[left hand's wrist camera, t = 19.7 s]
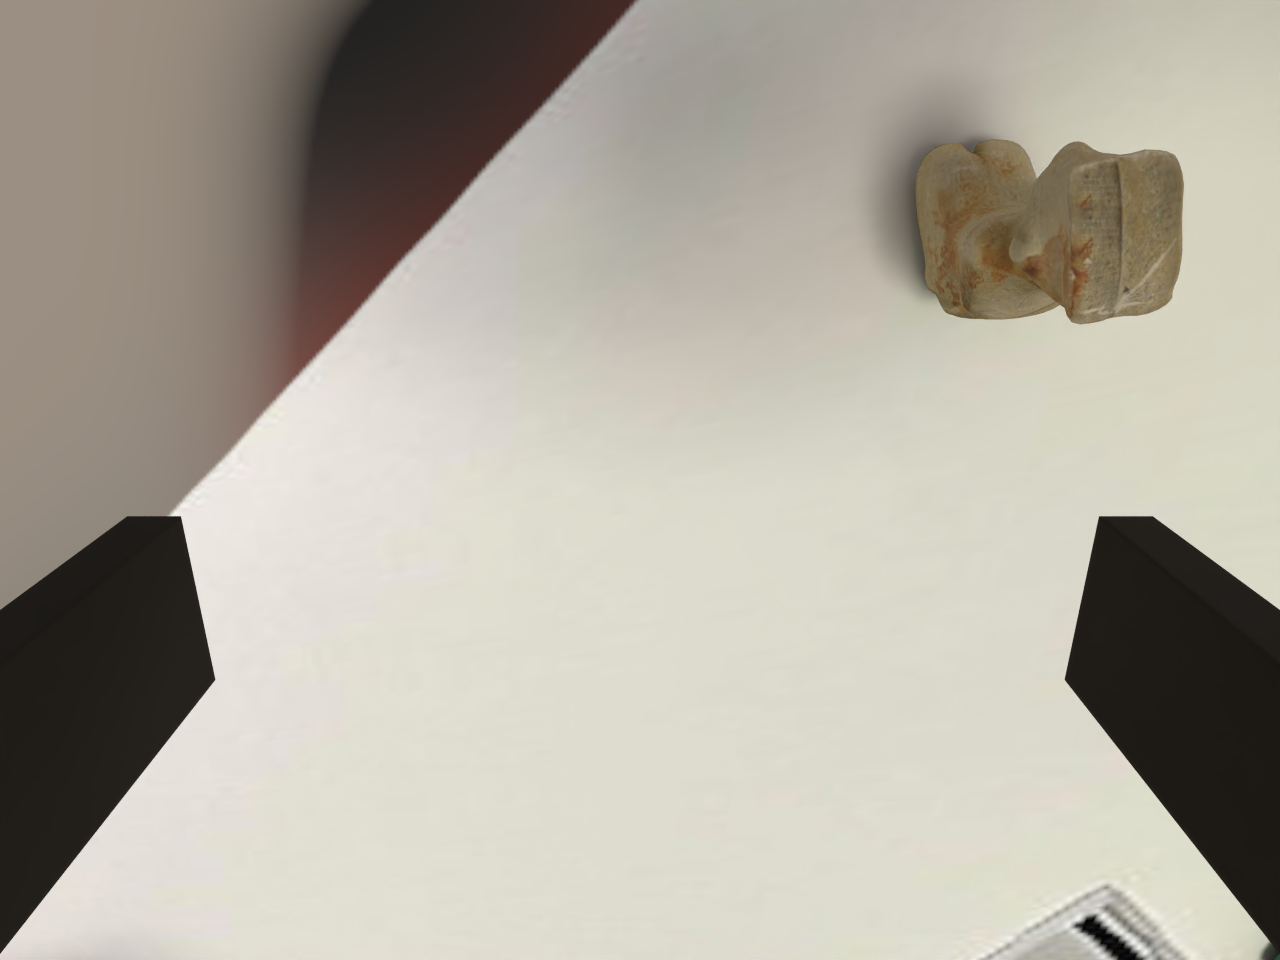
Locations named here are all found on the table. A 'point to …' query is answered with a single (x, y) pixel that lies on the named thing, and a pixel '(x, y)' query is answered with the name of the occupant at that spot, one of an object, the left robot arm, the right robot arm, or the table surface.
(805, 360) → the table surface
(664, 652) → the table surface
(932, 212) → the sculpture
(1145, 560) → the left robot arm
